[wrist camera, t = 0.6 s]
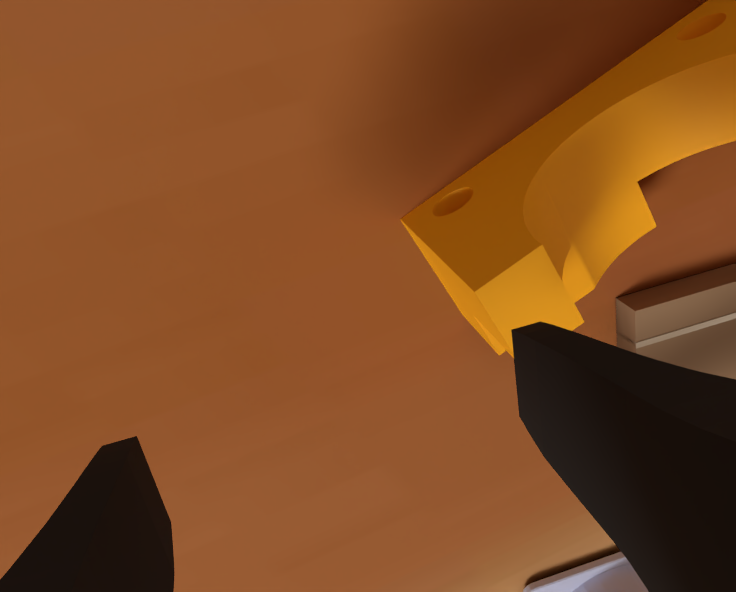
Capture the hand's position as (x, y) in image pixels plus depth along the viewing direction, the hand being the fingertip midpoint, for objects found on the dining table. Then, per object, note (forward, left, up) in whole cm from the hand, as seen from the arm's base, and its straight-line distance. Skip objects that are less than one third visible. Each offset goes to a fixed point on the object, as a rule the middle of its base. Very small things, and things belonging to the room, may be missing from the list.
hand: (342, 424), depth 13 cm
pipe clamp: (+1, -10, -10) cm, 14 cm away
